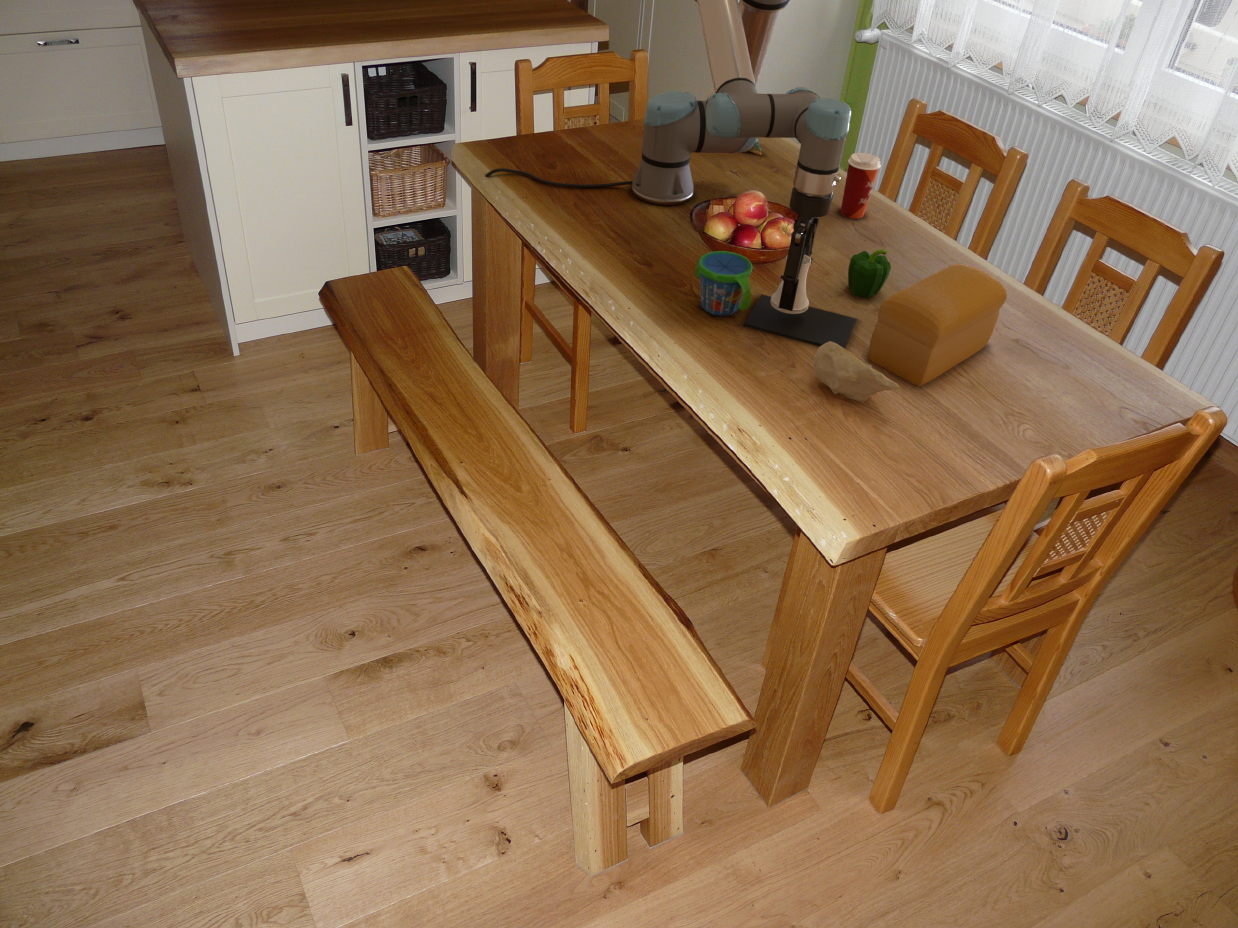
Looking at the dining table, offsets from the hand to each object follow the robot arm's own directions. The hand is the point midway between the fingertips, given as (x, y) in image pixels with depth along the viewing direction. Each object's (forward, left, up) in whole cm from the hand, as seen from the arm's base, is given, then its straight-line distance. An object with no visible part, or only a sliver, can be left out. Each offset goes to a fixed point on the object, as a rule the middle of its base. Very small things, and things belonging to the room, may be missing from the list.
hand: (790, 300), depth 184 cm
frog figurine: (-36, +84, -5) cm, 91 cm away
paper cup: (+2, +57, -5) cm, 57 cm away
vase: (0, 0, -1) cm, 1 cm away
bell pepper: (+12, +19, -5) cm, 23 cm away
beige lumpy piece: (+18, -19, -5) cm, 27 cm away
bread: (+28, +2, -5) cm, 29 cm away
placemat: (+3, 0, -4) cm, 5 cm away
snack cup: (-14, -2, -5) cm, 14 cm away
